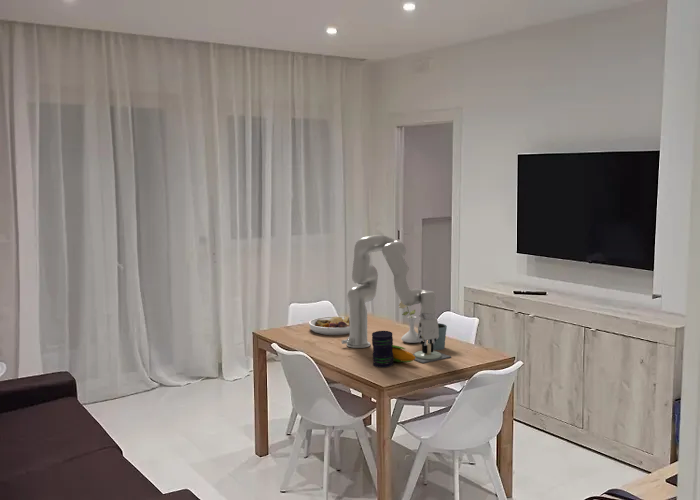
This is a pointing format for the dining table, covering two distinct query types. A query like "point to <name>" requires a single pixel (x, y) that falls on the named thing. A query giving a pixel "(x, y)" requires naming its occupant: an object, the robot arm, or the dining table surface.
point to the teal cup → (440, 338)
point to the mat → (433, 359)
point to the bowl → (330, 325)
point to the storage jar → (382, 348)
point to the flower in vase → (411, 334)
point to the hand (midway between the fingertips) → (427, 352)
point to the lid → (428, 354)
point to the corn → (401, 354)
